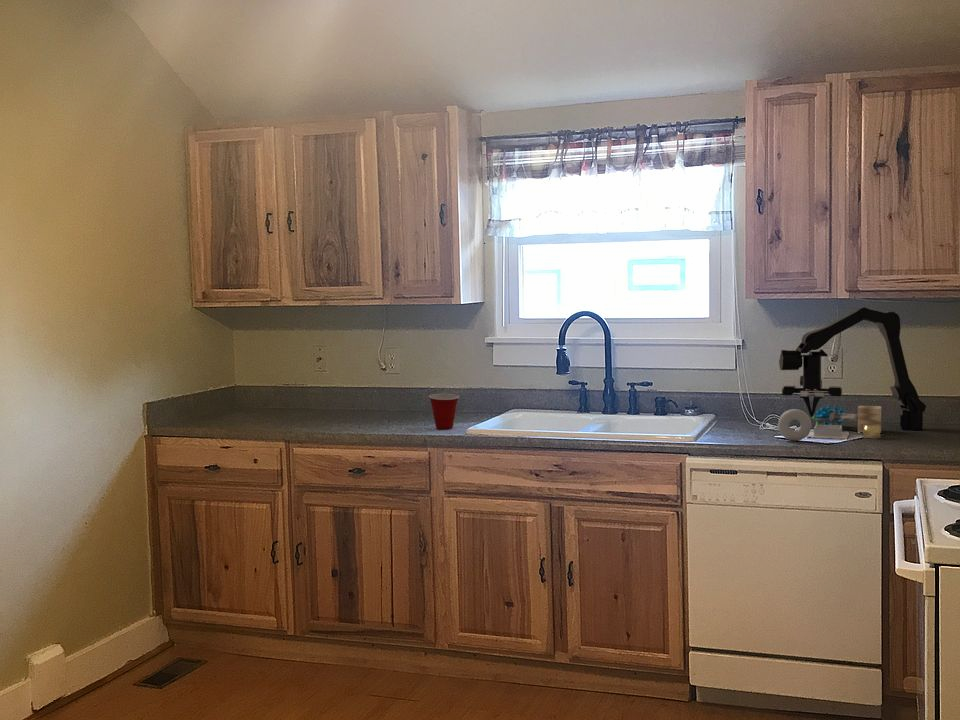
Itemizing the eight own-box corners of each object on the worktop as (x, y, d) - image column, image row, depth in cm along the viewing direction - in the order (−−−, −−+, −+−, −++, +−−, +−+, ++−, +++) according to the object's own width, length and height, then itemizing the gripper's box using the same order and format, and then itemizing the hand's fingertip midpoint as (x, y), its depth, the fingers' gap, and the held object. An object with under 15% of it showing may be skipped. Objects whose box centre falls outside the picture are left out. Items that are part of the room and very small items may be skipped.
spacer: (880, 437, 315) (880, 424, 314) (880, 439, 310) (880, 426, 310) (863, 436, 317) (863, 424, 316) (863, 438, 312) (863, 426, 312)
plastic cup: (436, 431, 345) (435, 397, 344) (424, 428, 355) (424, 394, 354) (464, 429, 350) (464, 395, 349) (453, 425, 360) (452, 392, 359)
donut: (778, 441, 309) (778, 409, 309) (777, 439, 313) (777, 408, 312) (812, 442, 307) (812, 409, 306) (811, 440, 310) (811, 408, 310)
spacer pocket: (848, 434, 322) (848, 424, 321) (847, 439, 311) (847, 429, 310) (809, 432, 326) (809, 423, 326) (806, 438, 315) (806, 428, 315)
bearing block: (881, 430, 329) (881, 406, 328) (880, 433, 322) (881, 409, 321) (858, 429, 332) (858, 405, 331) (857, 432, 324) (857, 408, 324)
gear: (848, 420, 342) (843, 402, 336) (849, 434, 338) (844, 416, 332) (815, 424, 347) (809, 406, 340) (815, 437, 343) (810, 419, 337)
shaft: (869, 424, 329) (869, 409, 329) (869, 426, 324) (869, 411, 324) (830, 423, 334) (830, 408, 333) (829, 425, 329) (829, 410, 329)
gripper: (843, 368, 336) (842, 414, 337) (785, 367, 343) (785, 413, 344) (841, 371, 326) (841, 418, 327) (781, 370, 333) (781, 417, 334)
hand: (811, 416), depth 333 cm, fingers closed
